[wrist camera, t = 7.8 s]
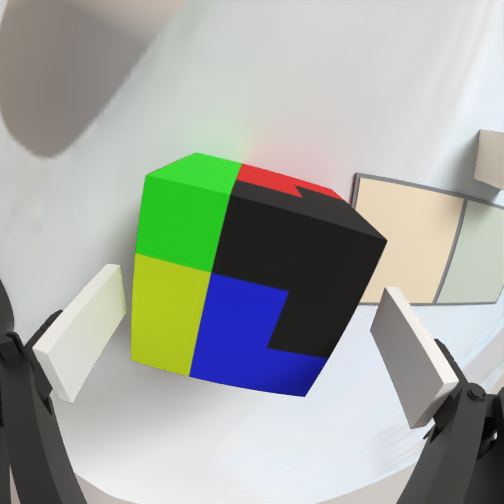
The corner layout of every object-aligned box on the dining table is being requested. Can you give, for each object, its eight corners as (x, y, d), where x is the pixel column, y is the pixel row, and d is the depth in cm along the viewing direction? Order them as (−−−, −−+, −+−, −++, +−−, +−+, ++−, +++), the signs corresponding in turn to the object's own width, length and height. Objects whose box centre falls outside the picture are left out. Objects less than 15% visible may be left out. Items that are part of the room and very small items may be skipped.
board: (330, 302, 24) (331, 304, 24) (356, 172, 20) (357, 173, 19) (495, 302, 25) (496, 303, 24) (525, 213, 20) (527, 214, 20)
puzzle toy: (289, 303, 24) (304, 397, 15) (172, 274, 23) (131, 360, 14) (331, 189, 20) (388, 240, 11) (196, 152, 19) (145, 175, 10)
